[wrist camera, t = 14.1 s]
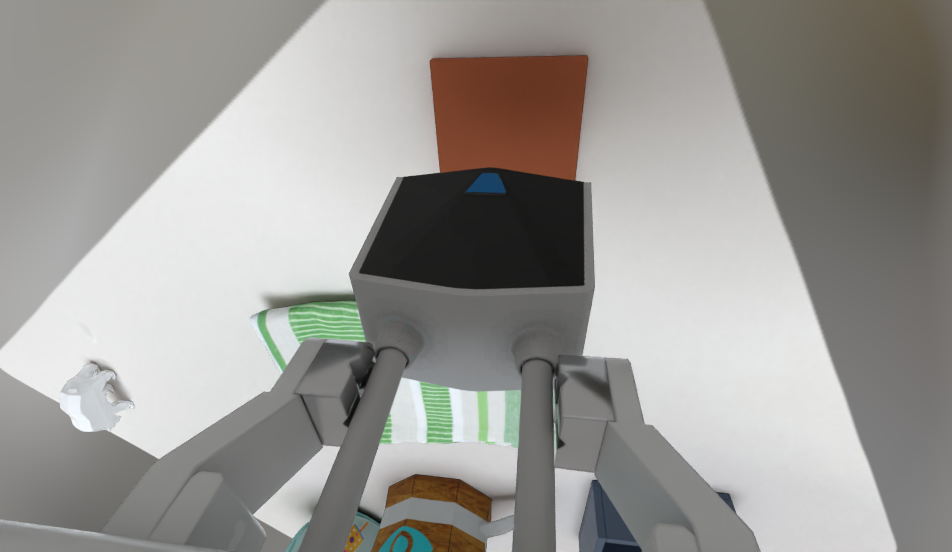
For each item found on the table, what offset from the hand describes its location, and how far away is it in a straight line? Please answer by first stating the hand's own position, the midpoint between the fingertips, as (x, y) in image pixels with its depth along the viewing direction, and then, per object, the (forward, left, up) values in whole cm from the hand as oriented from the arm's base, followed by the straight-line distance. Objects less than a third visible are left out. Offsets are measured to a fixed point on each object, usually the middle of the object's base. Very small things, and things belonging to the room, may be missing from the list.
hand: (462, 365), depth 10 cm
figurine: (+42, +27, -18) cm, 53 cm away
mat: (0, 0, -18) cm, 18 cm away
